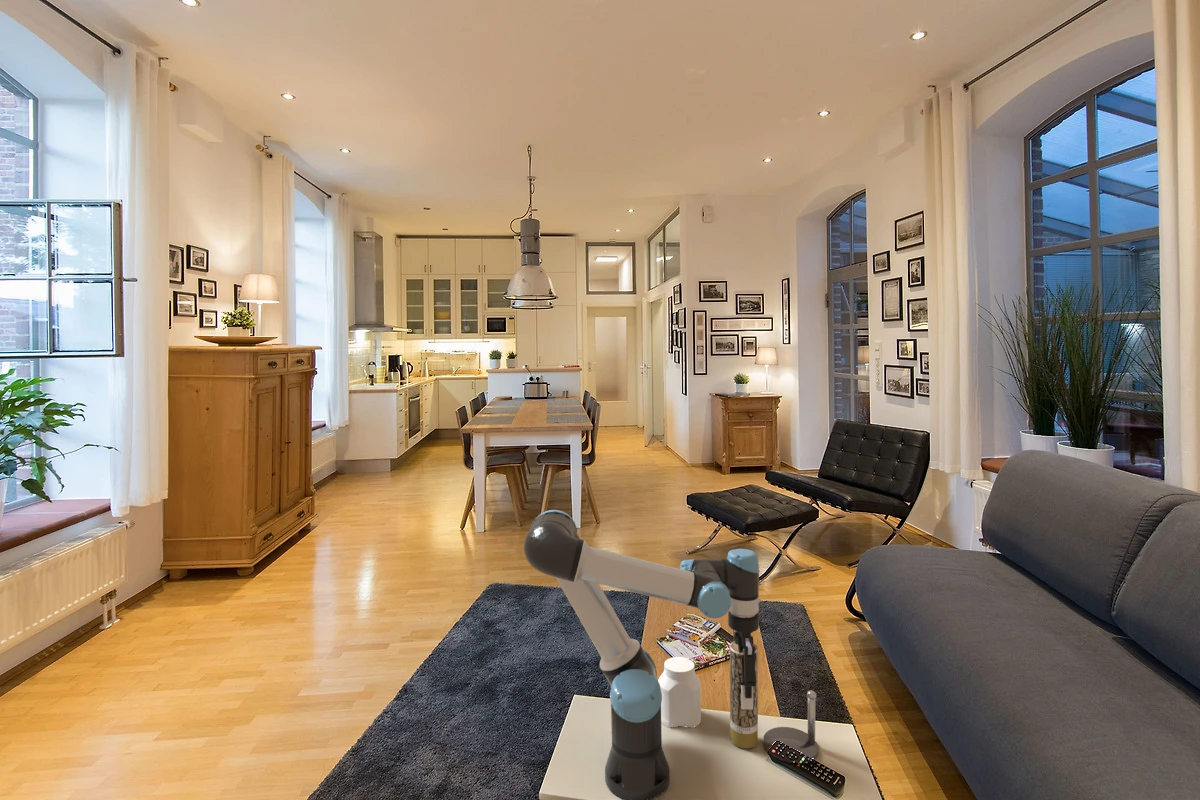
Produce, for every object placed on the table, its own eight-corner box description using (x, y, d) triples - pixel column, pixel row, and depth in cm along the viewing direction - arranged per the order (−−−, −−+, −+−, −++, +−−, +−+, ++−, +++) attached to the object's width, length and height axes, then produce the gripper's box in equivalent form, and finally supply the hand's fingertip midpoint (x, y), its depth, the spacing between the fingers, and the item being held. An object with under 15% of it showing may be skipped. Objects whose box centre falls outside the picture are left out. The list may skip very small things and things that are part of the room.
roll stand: (771, 764, 146) (771, 706, 145) (757, 731, 159) (757, 678, 158) (825, 763, 146) (825, 705, 145) (807, 730, 159) (807, 677, 158)
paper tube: (758, 751, 151) (758, 654, 150) (730, 748, 153) (730, 651, 151) (757, 734, 158) (756, 641, 156) (730, 732, 159) (729, 639, 158)
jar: (659, 727, 162) (658, 673, 161) (657, 707, 171) (657, 655, 170) (703, 728, 161) (702, 673, 160) (699, 707, 171) (698, 655, 170)
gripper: (769, 628, 143) (769, 722, 145) (749, 596, 163) (749, 679, 164) (737, 629, 143) (737, 723, 145) (720, 596, 163) (721, 680, 164)
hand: (743, 699), depth 154 cm, fingers closed on paper tube, 7 cm apart
